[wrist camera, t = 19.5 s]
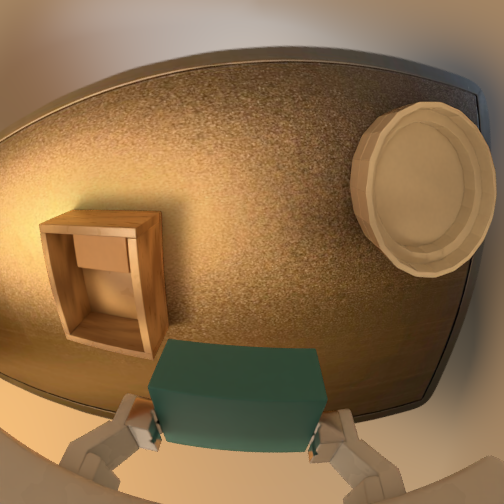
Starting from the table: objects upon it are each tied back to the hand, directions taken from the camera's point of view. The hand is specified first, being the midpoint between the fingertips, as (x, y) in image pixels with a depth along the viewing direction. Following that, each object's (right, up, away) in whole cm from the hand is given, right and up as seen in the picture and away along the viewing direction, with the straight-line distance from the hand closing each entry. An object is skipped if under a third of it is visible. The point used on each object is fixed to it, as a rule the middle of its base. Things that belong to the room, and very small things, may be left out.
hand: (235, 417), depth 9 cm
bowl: (+16, +13, +12) cm, 24 cm away
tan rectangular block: (-13, +8, +15) cm, 21 cm away
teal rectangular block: (0, +1, +2) cm, 2 cm away
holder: (-13, +5, +16) cm, 22 cm away
